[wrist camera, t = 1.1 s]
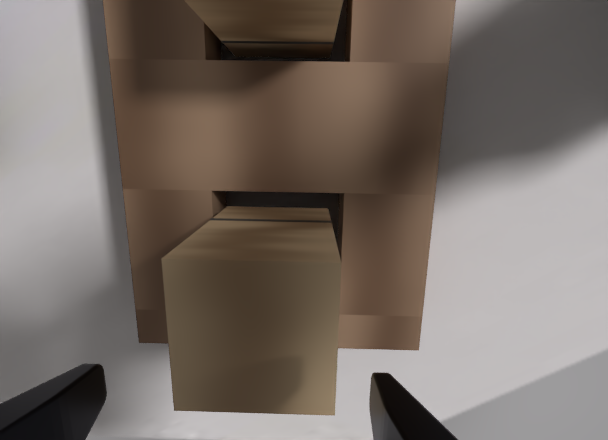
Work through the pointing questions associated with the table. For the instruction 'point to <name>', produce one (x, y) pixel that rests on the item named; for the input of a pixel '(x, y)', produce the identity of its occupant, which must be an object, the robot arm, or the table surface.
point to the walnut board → (285, 136)
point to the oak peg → (255, 313)
